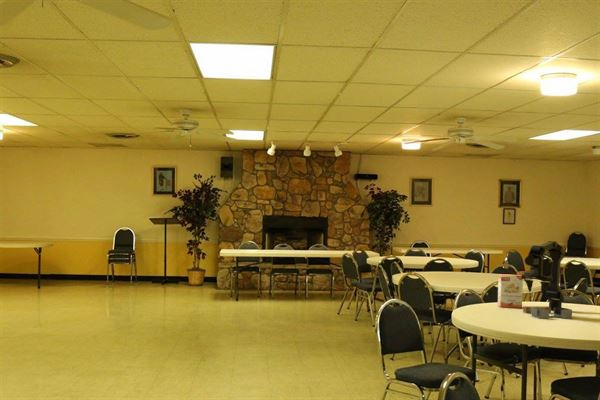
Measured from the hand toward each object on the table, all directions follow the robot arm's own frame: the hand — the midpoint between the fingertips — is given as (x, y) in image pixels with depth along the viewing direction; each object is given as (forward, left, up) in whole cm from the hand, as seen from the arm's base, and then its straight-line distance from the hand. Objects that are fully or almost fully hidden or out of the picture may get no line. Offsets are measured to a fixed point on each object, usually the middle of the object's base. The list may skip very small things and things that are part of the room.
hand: (535, 292), depth 334 cm
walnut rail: (-4, -5, -13) cm, 15 cm away
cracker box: (+2, -26, -13) cm, 29 cm away
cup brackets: (-4, +10, -13) cm, 17 cm away
